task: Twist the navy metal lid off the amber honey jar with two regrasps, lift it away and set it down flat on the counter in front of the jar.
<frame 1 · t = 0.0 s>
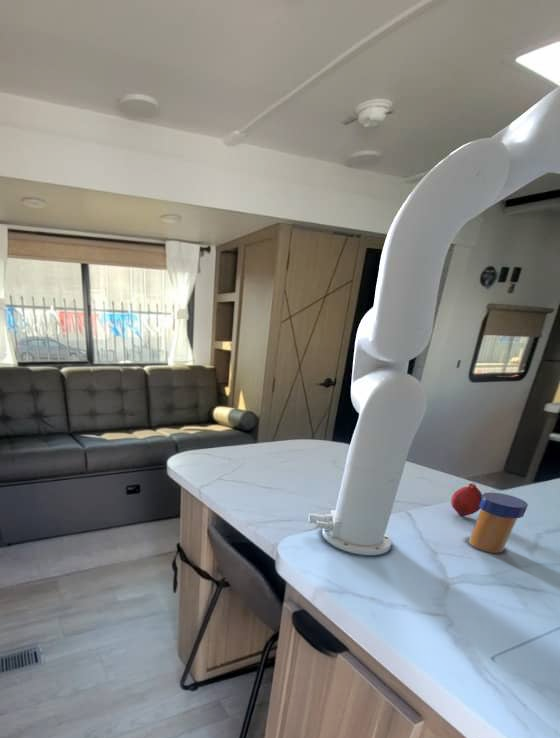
red pomegranate: (461, 516, 92), on the table
honey jar: (485, 545, 79), on the table
honey lid: (504, 501, 75), point 10 cm above the table, screwed on, not yet turned
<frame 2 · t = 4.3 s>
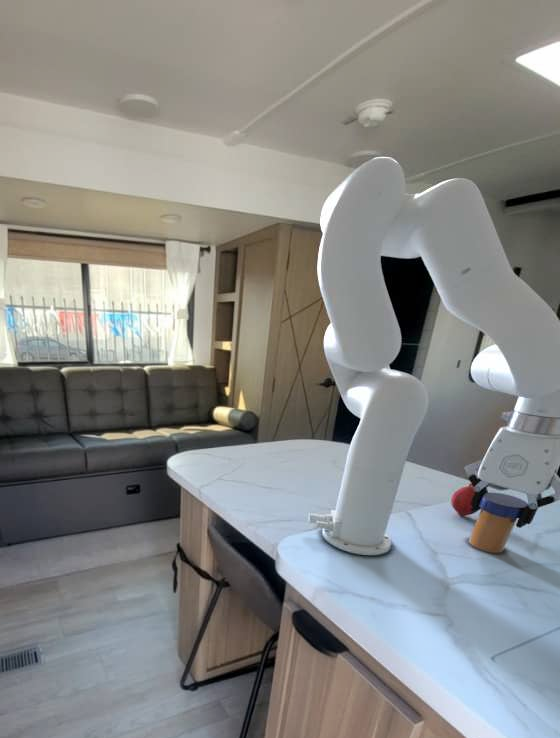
hand: (497, 516, 77), 6 cm above the table, tool pointing down, fingers closed on honey lid, 6 cm apart
honey lid: (504, 501, 75), point 10 cm above the table, screwed on, not yet turned, touching gripper
everything else where it was.
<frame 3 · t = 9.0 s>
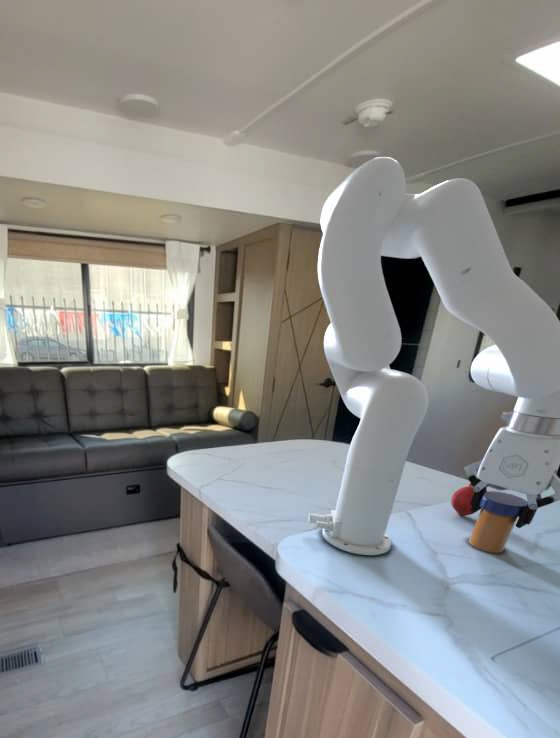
hand: (497, 517, 77), 6 cm above the table, tool pointing down, fingers closed on honey lid, 6 cm apart
honey lid: (504, 499, 75), point 10 cm above the table, turned 90° so far, risen 0.2 cm, still on its thread, touching gripper
everything else where it was.
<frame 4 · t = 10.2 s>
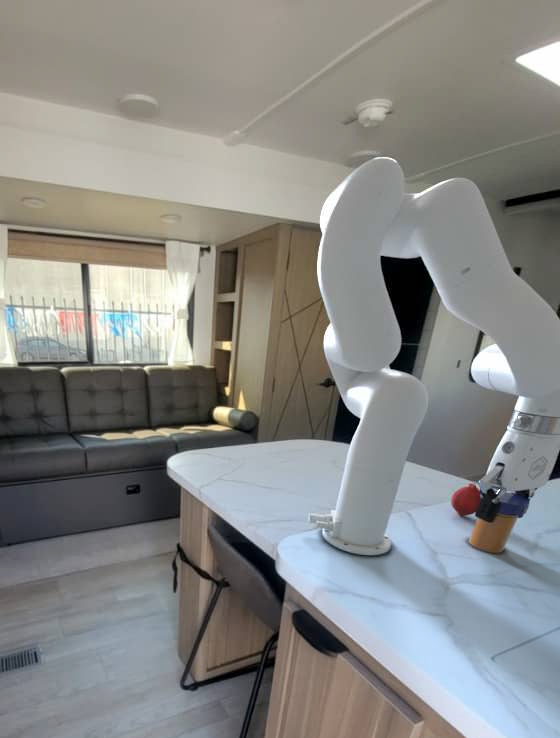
hand: (498, 516, 77), 6 cm above the table, tool pointing down, fingers closed on honey lid, 6 cm apart
honey lid: (505, 499, 75), point 10 cm above the table, off its thread, touching gripper
everything else where it was.
when the fingers open (1 cm above the table, at t = 18.8 s): honey lid drops 2 cm, point 2 cm above the table.
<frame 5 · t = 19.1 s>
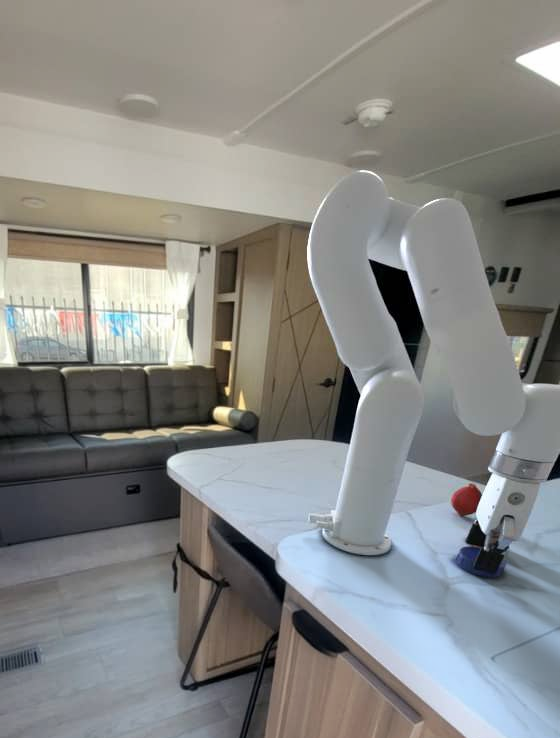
hand: (479, 557, 72), 2 cm above the table, tool pointing down, fingers open, 9 cm apart
honey lid: (481, 557, 72), point 2 cm above the table, off its thread
everything else where it was.
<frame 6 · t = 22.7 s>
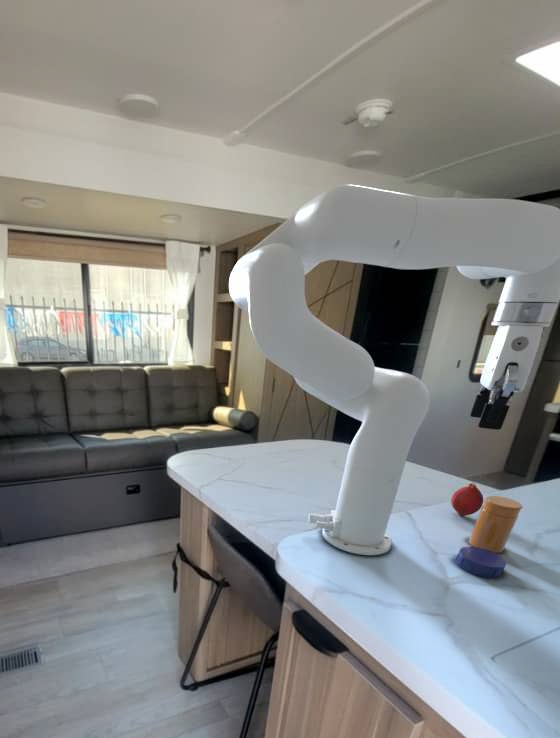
hand: (484, 422, 72), 23 cm above the table, tool pointing down, fingers open, 9 cm apart
nothing on the table moved.
at the end: honey lid came off its thread; honey lid point 1.9 cm above the table; the gripper is holding nothing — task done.
